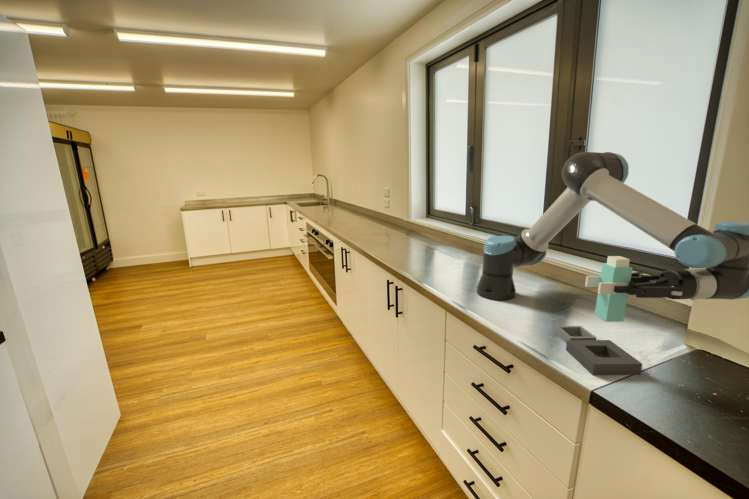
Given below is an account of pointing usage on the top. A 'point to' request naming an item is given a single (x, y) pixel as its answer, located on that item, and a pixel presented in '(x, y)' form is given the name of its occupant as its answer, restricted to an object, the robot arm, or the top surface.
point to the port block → (612, 365)
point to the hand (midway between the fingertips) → (592, 284)
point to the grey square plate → (573, 333)
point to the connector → (613, 304)
